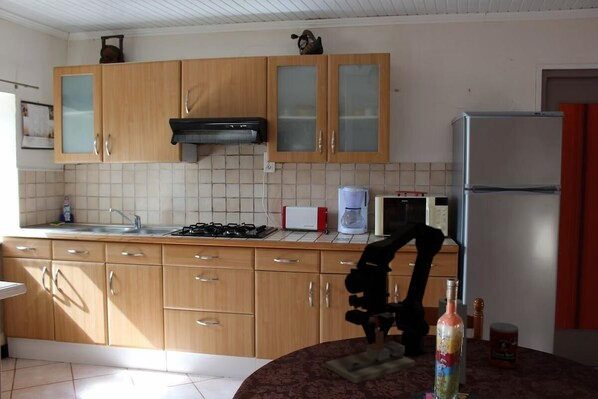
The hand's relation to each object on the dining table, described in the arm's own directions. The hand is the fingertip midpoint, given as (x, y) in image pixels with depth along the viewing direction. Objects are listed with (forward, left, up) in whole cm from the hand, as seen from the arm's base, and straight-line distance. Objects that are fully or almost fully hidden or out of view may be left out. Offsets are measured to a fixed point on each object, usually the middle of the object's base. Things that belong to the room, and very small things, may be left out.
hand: (375, 342), depth 144 cm
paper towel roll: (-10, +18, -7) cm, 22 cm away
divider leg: (0, +1, -5) cm, 5 cm away
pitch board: (+2, 0, -6) cm, 7 cm away
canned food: (-32, +19, -7) cm, 38 cm away
